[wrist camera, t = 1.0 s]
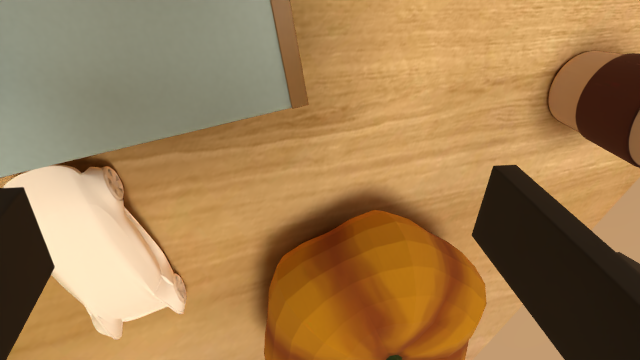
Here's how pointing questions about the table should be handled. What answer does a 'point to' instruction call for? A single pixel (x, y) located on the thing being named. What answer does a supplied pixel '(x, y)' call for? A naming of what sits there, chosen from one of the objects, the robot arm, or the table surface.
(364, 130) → the table surface
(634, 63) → the coffee cup
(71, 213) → the toy car
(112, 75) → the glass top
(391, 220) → the decorative pumpkin
